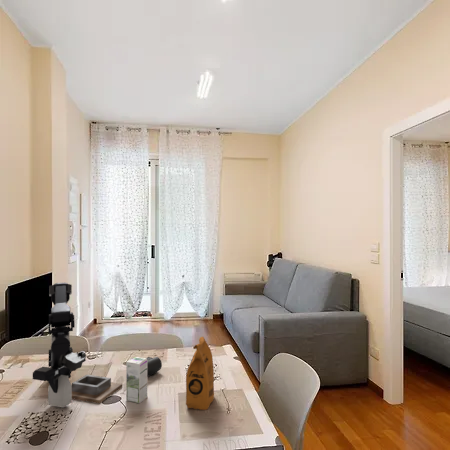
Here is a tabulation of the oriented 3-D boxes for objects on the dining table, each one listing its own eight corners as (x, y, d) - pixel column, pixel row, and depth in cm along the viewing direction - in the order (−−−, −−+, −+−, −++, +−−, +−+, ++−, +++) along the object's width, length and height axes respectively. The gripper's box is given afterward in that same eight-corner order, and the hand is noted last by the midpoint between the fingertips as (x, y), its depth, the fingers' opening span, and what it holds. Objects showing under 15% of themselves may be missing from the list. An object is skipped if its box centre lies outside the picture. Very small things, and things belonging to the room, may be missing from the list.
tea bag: (63, 407, 118) (63, 378, 119) (48, 404, 120) (48, 376, 121) (71, 402, 122) (71, 373, 122) (56, 400, 124) (56, 372, 124)
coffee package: (181, 409, 119) (181, 345, 120) (192, 392, 131) (192, 335, 132) (208, 412, 117) (208, 347, 118) (217, 395, 129) (217, 336, 130)
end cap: (145, 381, 142) (145, 365, 142) (133, 377, 145) (133, 361, 145) (162, 373, 150) (162, 357, 150) (150, 369, 154) (150, 354, 154)
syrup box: (147, 396, 128) (148, 357, 129) (139, 404, 123) (139, 363, 123) (134, 394, 130) (135, 355, 131) (125, 401, 125) (125, 361, 125)
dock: (59, 396, 129) (59, 385, 129) (84, 381, 142) (84, 370, 142) (99, 403, 123) (99, 391, 123) (122, 386, 136) (122, 376, 137)
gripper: (58, 357, 110) (58, 406, 110) (96, 340, 128) (96, 382, 128) (31, 353, 113) (30, 401, 113) (72, 337, 131) (72, 378, 131)
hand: (59, 390), depth 121 cm, fingers closed on tea bag, 4 cm apart
